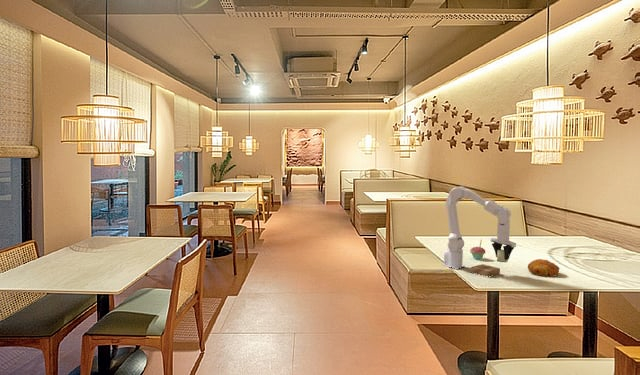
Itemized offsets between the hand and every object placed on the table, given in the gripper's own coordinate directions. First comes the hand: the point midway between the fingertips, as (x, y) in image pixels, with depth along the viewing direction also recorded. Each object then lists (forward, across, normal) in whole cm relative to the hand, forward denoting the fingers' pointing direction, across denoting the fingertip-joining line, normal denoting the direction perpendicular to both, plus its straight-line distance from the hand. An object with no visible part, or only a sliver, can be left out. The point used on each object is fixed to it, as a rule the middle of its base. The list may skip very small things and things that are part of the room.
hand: (502, 258), depth 215 cm
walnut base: (+8, -4, -7) cm, 12 cm away
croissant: (+9, +8, +21) cm, 24 cm away
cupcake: (+9, -30, +13) cm, 33 cm away
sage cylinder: (+2, 0, 0) cm, 2 cm away
